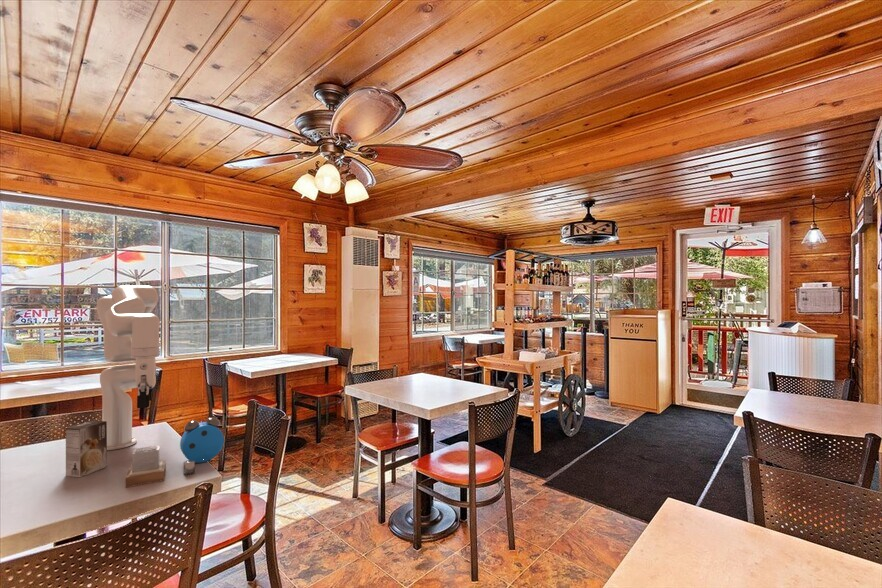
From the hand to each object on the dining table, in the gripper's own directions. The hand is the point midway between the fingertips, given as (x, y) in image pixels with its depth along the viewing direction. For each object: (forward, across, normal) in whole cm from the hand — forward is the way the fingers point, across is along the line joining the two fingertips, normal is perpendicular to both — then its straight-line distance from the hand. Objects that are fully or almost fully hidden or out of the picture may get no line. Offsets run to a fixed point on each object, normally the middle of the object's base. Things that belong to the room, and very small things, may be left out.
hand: (144, 404), depth 139 cm
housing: (+20, -2, -1) cm, 21 cm away
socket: (+24, -5, -13) cm, 28 cm away
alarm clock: (+24, +6, -17) cm, 30 cm away
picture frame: (+24, -2, -1) cm, 24 cm away
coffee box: (+24, +15, +17) cm, 33 cm away
